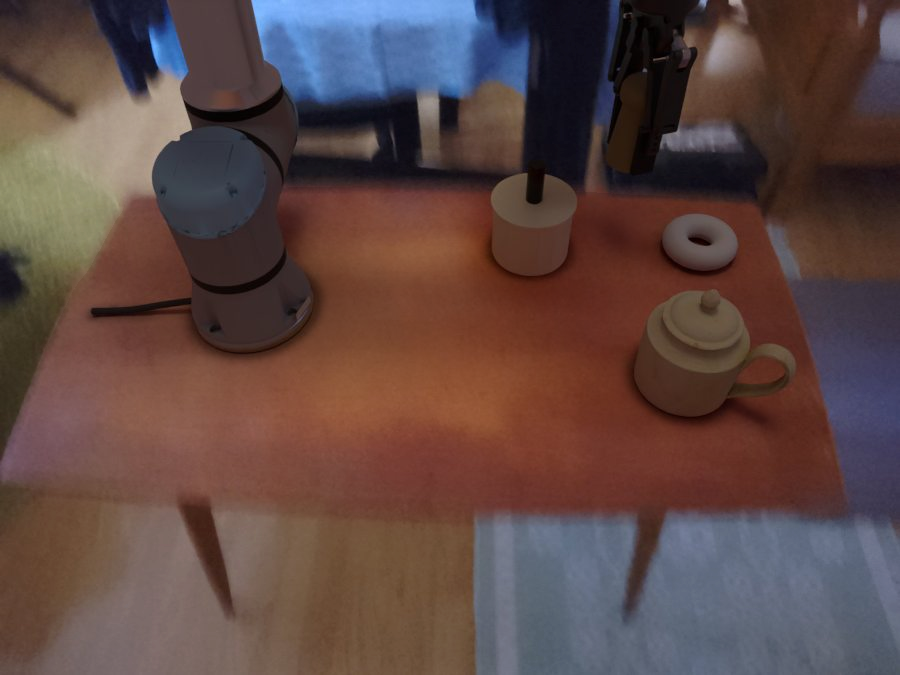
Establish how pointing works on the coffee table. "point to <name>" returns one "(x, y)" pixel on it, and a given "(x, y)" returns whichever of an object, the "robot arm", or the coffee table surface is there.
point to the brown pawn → (628, 122)
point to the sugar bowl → (701, 355)
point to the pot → (529, 247)
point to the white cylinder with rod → (534, 199)
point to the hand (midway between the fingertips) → (629, 156)
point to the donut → (698, 255)
